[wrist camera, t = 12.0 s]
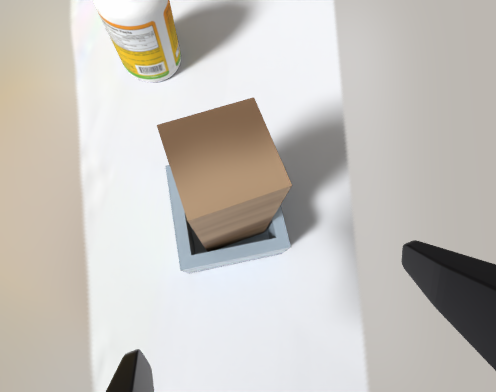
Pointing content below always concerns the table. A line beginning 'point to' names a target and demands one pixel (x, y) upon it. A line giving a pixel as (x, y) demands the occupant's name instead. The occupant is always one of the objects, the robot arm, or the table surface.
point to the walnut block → (225, 172)
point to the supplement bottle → (142, 36)
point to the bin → (199, 259)
